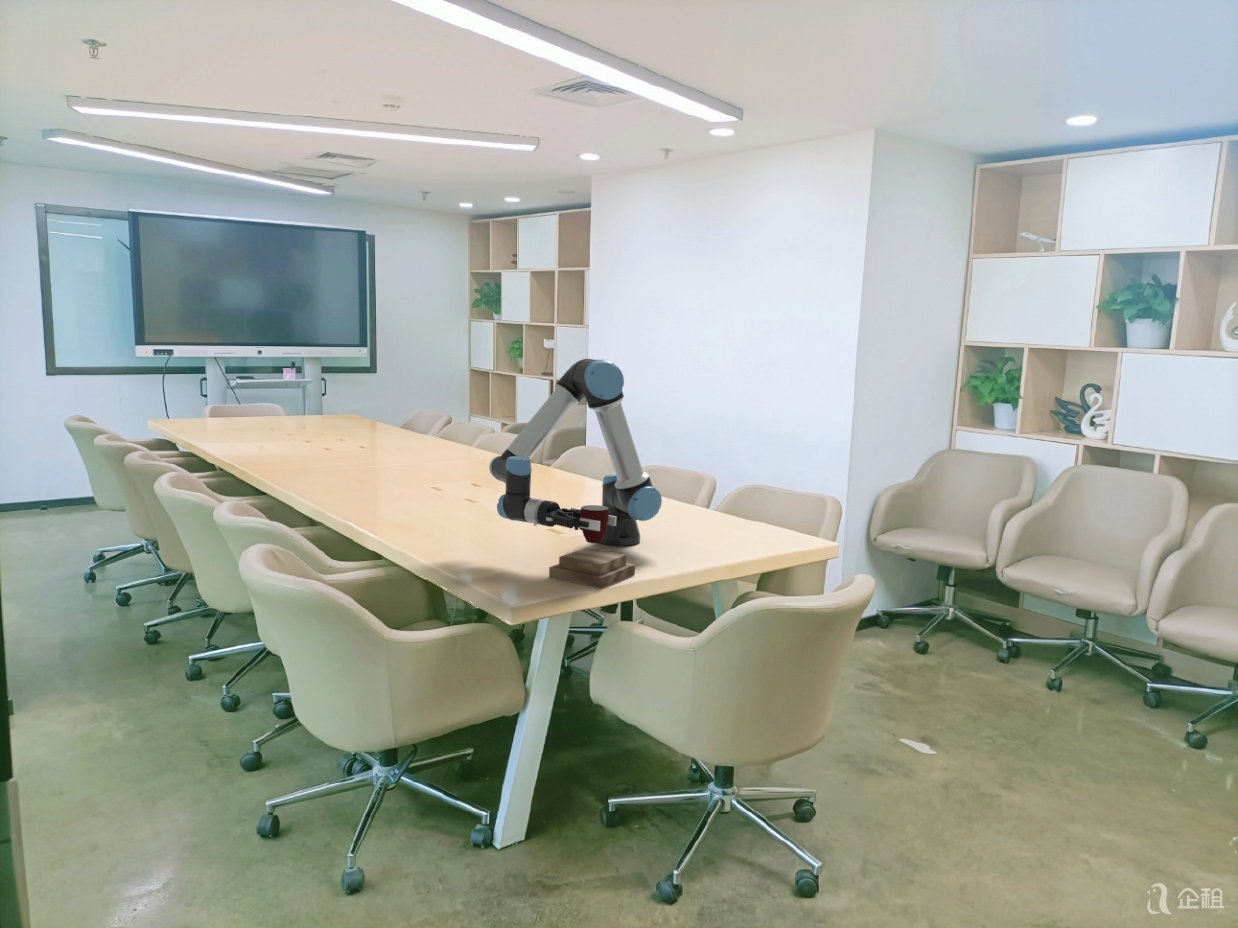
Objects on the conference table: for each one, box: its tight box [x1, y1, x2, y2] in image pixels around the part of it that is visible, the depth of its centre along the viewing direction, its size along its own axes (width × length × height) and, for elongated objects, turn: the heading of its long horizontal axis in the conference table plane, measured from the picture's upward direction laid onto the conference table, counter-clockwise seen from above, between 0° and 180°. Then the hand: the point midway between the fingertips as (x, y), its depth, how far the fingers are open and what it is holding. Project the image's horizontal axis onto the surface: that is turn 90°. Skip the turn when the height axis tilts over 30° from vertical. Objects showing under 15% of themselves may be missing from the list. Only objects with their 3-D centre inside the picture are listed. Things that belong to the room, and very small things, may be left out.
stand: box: [548, 547, 636, 589], centre depth 251 cm, size 18×18×6 cm
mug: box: [578, 504, 609, 544], centre depth 250 cm, size 11×8×10 cm
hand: (607, 523), depth 247 cm, fingers closed on mug, 8 cm apart
